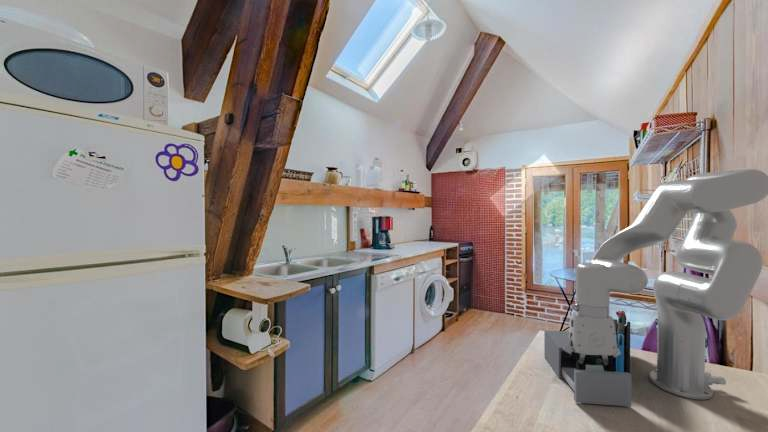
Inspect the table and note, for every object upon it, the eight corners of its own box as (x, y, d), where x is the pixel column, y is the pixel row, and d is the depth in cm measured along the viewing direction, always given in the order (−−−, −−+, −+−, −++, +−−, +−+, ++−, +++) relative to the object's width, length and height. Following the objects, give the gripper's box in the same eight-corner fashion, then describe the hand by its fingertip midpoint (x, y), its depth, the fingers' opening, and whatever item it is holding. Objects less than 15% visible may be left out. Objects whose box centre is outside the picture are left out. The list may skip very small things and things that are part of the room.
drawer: (631, 406, 77) (631, 375, 76) (576, 402, 79) (576, 371, 78) (603, 377, 89) (603, 350, 89) (556, 374, 91) (556, 348, 91)
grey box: (603, 381, 88) (604, 349, 88) (558, 378, 90) (558, 347, 90) (583, 359, 100) (584, 332, 100) (544, 357, 102) (544, 330, 102)
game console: (629, 394, 82) (630, 340, 82) (600, 385, 86) (601, 334, 86) (630, 352, 104) (630, 310, 104) (606, 347, 108) (607, 306, 108)
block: (607, 387, 79) (602, 365, 81) (590, 386, 79) (586, 364, 82) (599, 386, 83) (595, 365, 85) (583, 385, 83) (579, 364, 85)
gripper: (564, 313, 80) (563, 381, 81) (635, 316, 77) (634, 387, 78) (553, 303, 87) (552, 366, 88) (618, 306, 85) (616, 371, 86)
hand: (590, 375), depth 83 cm, fingers closed on block, 4 cm apart
